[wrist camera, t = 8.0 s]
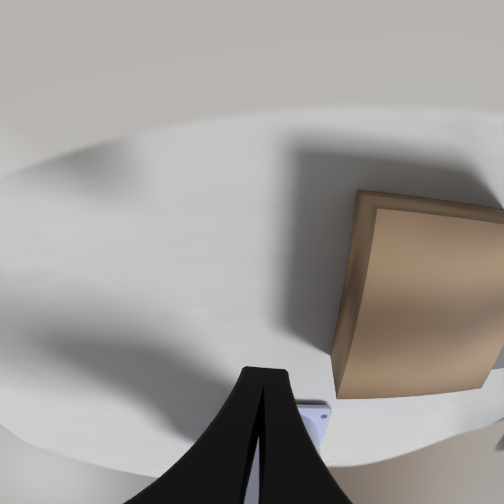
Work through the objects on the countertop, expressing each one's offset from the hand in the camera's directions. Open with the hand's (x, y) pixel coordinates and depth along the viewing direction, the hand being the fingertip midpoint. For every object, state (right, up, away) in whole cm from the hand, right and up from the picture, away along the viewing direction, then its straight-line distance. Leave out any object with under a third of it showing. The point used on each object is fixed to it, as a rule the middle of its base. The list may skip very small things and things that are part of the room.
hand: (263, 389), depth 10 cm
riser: (+10, +2, +8) cm, 13 cm away
